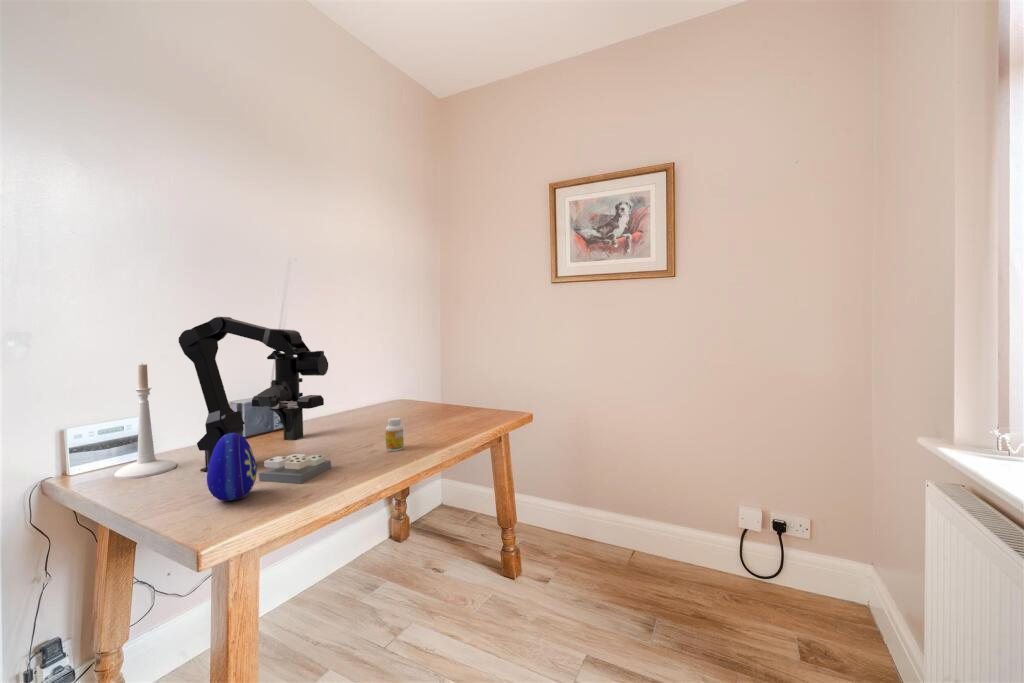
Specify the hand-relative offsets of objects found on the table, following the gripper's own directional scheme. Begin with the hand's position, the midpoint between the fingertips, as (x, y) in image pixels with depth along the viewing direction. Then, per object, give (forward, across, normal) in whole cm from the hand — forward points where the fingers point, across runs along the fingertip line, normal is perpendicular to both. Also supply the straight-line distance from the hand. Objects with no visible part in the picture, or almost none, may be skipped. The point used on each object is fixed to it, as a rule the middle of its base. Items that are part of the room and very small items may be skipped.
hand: (288, 431), depth 114 cm
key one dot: (+8, +2, -1) cm, 8 cm away
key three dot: (+8, +8, -1) cm, 12 cm away
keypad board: (+10, +5, -4) cm, 12 cm away
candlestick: (+11, -39, -8) cm, 41 cm away
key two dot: (+7, +2, -7) cm, 10 cm away
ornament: (+10, +3, -20) cm, 23 cm away
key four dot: (+7, +8, -7) cm, 13 cm away
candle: (+11, -23, +29) cm, 38 cm away
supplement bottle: (+10, +20, +22) cm, 31 cm away
